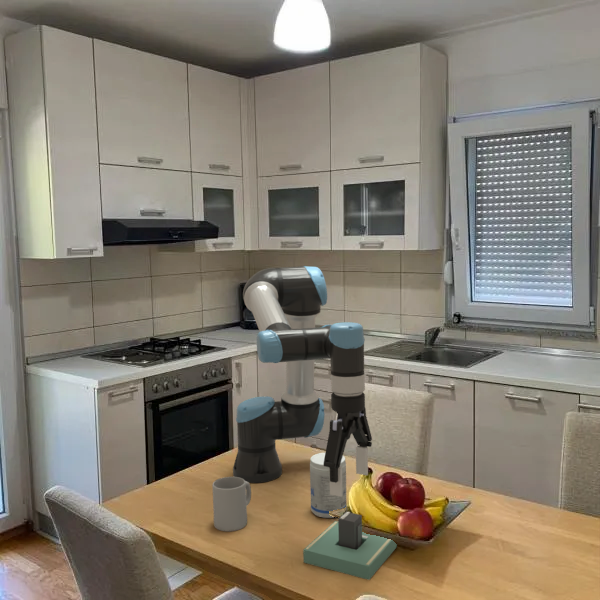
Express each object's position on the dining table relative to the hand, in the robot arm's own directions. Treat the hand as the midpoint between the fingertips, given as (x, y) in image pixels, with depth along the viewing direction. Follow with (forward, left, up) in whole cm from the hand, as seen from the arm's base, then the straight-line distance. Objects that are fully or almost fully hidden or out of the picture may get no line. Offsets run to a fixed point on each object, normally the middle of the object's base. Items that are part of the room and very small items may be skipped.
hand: (349, 484), depth 143 cm
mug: (-2, -34, -17) cm, 38 cm away
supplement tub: (-18, -15, -17) cm, 29 cm away
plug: (0, 0, -17) cm, 17 cm away
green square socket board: (0, 0, -17) cm, 17 cm away
